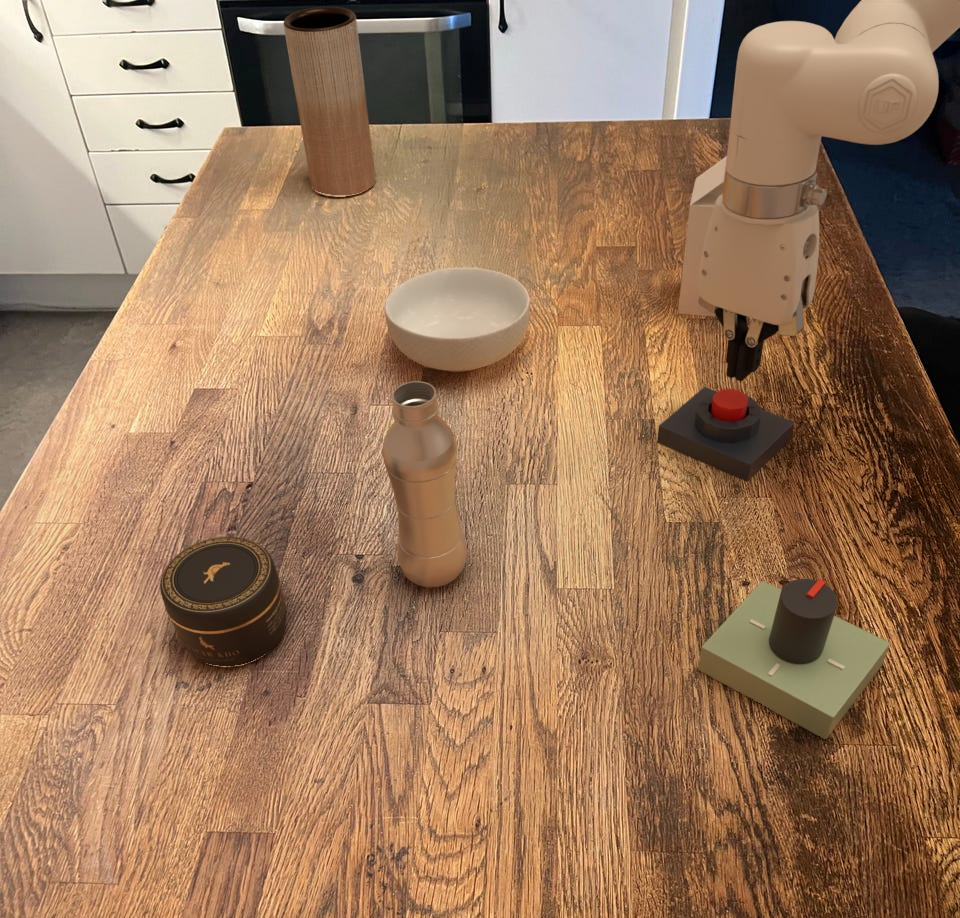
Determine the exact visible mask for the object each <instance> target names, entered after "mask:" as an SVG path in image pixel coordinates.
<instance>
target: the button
mask: <svg viewBox="0 0 960 918" xmlns="http://www.w3.org/2000/svg"><path fill="white" fill-rule="evenodd" d="M747 396H748V395H747V394H746V393H744V392H743V391H741V390H738V389H735V388H724V389H721V390H717V391H716V393H715V394H714V396H713V400H712V407H711V414H712V416H713V417H714V418H717V419H719V420H721V421H727V422H735V421H739V420H742V419H744V418H745V416H746V412H747V406H748V397H749V396H748V397H747Z"/></svg>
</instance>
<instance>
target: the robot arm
mask: <svg viewBox="0 0 960 918" xmlns="http://www.w3.org/2000/svg"><path fill="white" fill-rule="evenodd" d="M958 29H960V0H860V1H859V2H858V3H857V5H856V6H855V7H854V8H853V9H852V10H851V11H850V13H849V14H848V15H847V17H846V18H845V19H844V21H843V22H842V24H841V26H840V28H839V29H838V30H837V32H836V35H835V37H834V36H833V34H832V33H831V32H830V31H829V30H828V29H826V27H823V26H821V25H819V24H815V23H813V22H812V23H811V22H807V21H800V20H782V21H781V20H780V21H774V22H770V23H766V24H763V25H762V24H761V25H759V26H757V27H755V28H754V29H752V30H751V31H749V32H748V33H747V34H746V36H745V37H744V38H743V39H742V41H741V42H740V46H739V48H738V52H737V59H736V67H735V75H734V76H735V77H734V85H733V94H732V104H731V114H730V124H729V132H728V142H727V149H726V150H727V151H726V156H727V158H726V168H725V177H724V187H723V193H722V194H721V195H720V196H719V197H718V198H717V200H716V203H715V206H714V208H713V212H712V215H711V218H710V221H709V225H708V228H707V232H706V236H705V241H704V246H703V251H702V256H701V263H700V270H699V280H698V291H699V295H700V297H699V300H698V302H699V305H700V306H702V307H703V308H705V309H707V310H708V311H710V312H711V313H713V314H714V313H715V315H716V319H717V320H718V321H719V323H720V325H721V326H722V328H723V336H724V338H725V339H726V340H727V348H726V357H725V364H727V368H726V377H727V378H730V379H733V378H735V380H736V381H738V382H743V381H745V379H747V377H749V376H750V375H751V374H752V373H755V372H756V371H757V370H758V369H759V368H760V365H761V361H762V356H763V349H764V343H765V341H766V340H767V339H770V338H771V337H773V336H774V335H778V336H781V337H783V336H784V337H796V336H797V335H798V334H799V333H801V332H802V331H803V330H804V328H805V320H804V319H805V318H804V309H808V308H809V307H810V306H811V304H812V303H813V300H814V295H815V290H816V284H817V276H818V275H817V274H818V266H819V256H820V255H819V253H820V212H819V207H818V206H820V207H821V206H823V205H824V203H825V201H826V199H827V195H828V190H827V188H823V187H820V185H818V184H817V178H818V172H817V171H816V170H817V164H818V158H819V155H820V148H821V147H820V146H821V143H822V137H824V138H830V139H835V140H839V141H845V142H850V143H855V144H861V145H870V146H871V145H874V146H878V145H879V146H881V145H888V144H892V143H897V142H899V141H901V140H903V139H906V138H907V137H910V135H913V134H914V133H915V132H916V131H918V130H919V129H920V128H921V127H922V126H923V125H924V124H925V122H926V121H927V120H928V118H929V117H930V115H931V114H932V112H933V110H934V108H935V107H936V106H935V105H936V103H937V99H938V94H939V83H940V81H939V72H938V67H937V64H936V61H935V57H934V52H935V51H936V50H937V49H938V48H939V47H940V46H941V45H942V44H944V42H946V41H947V39H949V38H950V37H951V36H952V35H953V34H954V33H955V32H956V31H957V30H958Z"/></svg>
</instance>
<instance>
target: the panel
mask: <svg viewBox="0 0 960 918" xmlns="http://www.w3.org/2000/svg"><path fill="white" fill-rule="evenodd" d="M781 590H782V588H781V589H780V588H778V587H777V586H774V585H772V584H770V583H769V582H766V581H764V580H761V581H760V583H758V585H757V586H756V587H755V588H754V589H752V591H751V592H750V594H748V595H747V596H746V598H745V599H744V600H743V601H742V602H741V603H740V604H739V605H738V606H737V607H736V609H734V611H733V612H732V613H731V614H730V615H728V618H727V619H726V620H725V621H723V623H721V625H720V626H719V627H718V628H717V629H716V630H715V632H713V633H712V635H710V637H709V638H708V639H707V640H706V641H705V642H704V643H703V645H702V646H701V647H700V654H699V658H698V664H697V671H699V672H701V673H702V674H705V675H706V676H709V678H712V679H713V680H715V681H718V682H719V683H720V684H723V685H725V686H726V685H727V686H726V687H728V688H730V689H732V690H733V691H735V692H737V691H738V692H737V693H739V692H740V693H739V694H741V695H743V696H745V695H746V696H747V697H746V696H745V697H746V698H748V697H749V698H748V699H750V698H751V699H750V700H752V699H753V700H752V701H754V702H756V701H757V702H758V703H757V702H756V703H757V704H759V703H761V704H762V705H761V704H760V705H761V706H762V707H765V706H766V707H767V709H768V708H769V709H768V710H771V711H772V712H773V713H776V714H777V715H779V716H781V717H783V718H785V719H787V720H788V721H790V722H791V723H793V724H795V725H798V727H801V728H803V729H804V730H806V731H808V732H810V733H812V734H814V735H816V736H817V737H819V736H820V737H819V738H821V739H823V740H825V739H826V740H827V739H828V738H829V736H830V735H831V734H832V732H833V731H834V730H835V728H836V727H837V726H838V725H839V723H840V722H841V721H842V719H843V718H844V716H845V715H846V714H847V713H848V711H849V710H850V709H851V707H852V706H854V705H853V704H854V703H855V702H856V701H857V700H858V698H859V697H860V696H861V694H862V693H863V692H864V690H865V689H866V687H867V686H868V685H869V683H870V682H871V681H872V680H873V678H875V676H876V675H877V673H878V672H879V670H880V669H881V668H882V667H883V664H884V661H885V659H886V656H887V654H888V652H889V648H890V647H891V642H890V641H887V640H886V639H883V638H882V637H880V636H877V635H875V634H874V633H871V632H869V631H867V630H865V629H863V628H861V627H859V626H857V625H855V624H853V623H851V622H848V621H847V620H845V619H842V618H840V617H838V616H836V615H834V618H833V621H832V624H831V627H830V630H829V634H828V637H827V640H826V643H825V646H824V649H823V652H822V654H821V656H820V657H819V658H818V659H816V660H815V661H813V662H810V663H806V664H795V663H790V662H787V661H785V660H783V659H781V658H779V657H778V656H777V655H776V654H775V653H774V652H773V651H772V650H771V648H770V645H769V637H770V633H771V629H772V625H773V621H774V617H775V613H776V609H777V605H778V601H779V597H780V593H781ZM766 707H765V708H766Z"/></svg>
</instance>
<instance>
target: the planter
mask: <svg viewBox="0 0 960 918" xmlns="http://www.w3.org/2000/svg"><path fill="white" fill-rule="evenodd" d="M283 29H284V36H285V42H286V48H287V53H288V59H289V65H290V72H291V77H292V83H293V89H294V93H295V100H296V104H297V105H296V106H297V111H298V119H299V123H300V129H301V135H302V141H303V147H304V153H305V159H306V164H307V171H308V177H309V182H310V185H311V188H312V187H313V189H314V190H316V191H318V192H321V193H325V194H331V195H352V194H357V193H360V192H363V191H366V190H368V189H369V188H371V187H372V186H373V187H374V185H375V184H376V182H377V181H376V169H375V168H376V167H375V161H374V152H373V144H372V137H371V127H370V120H369V111H368V105H367V95H366V87H365V79H364V71H363V63H362V62H363V61H362V54H361V47H360V38H359V30H358V21H357V16H356V13H354V12H353V11H352V10H351V9H349V8H345V7H339V6H317V7H310V8H305V9H301V10H298V11H295V12H293V13H290V14H289V15H288V16H287V17H285V19H284V20H283ZM373 187H372V188H373ZM372 188H371V189H372ZM313 189H312V190H313ZM314 190H313V191H314ZM369 190H370V189H369ZM369 190H368V191H369ZM366 192H367V191H366Z"/></svg>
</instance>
